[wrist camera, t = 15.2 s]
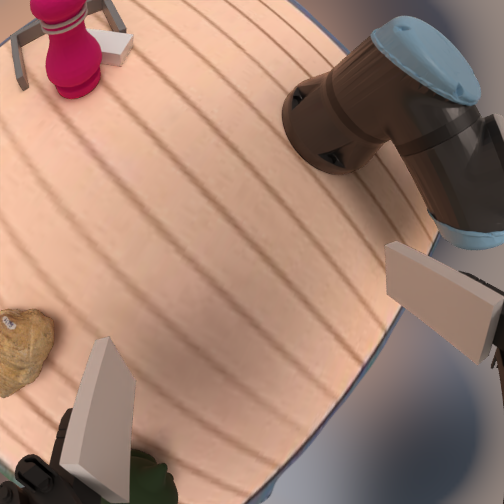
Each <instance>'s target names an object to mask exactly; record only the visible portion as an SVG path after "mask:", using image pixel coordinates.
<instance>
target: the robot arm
mask: <svg viewBox="0 0 504 504" xmlns="http://www.w3.org/2000/svg"><path fill="white" fill-rule="evenodd" d="M480 97H481V89H480V86H479V83H478V80H477V79H476V78H475V76H474V72H473V70H472V69H471V67H470V65H469V64H468V63H467V61H466V60H465V58H464V57H463V56H462V54H461V53H460V52H459V51H458V50H457V49H456V47H455V46H454V45H453V44H452V43H451V42H450V41H449V40H448V39H447V38H446V37H444V36H443V35H442V34H441V33H440V32H439V31H437V30H436V29H435V28H433V27H432V26H430V25H429V24H427V23H425V22H424V21H422V20H419V19H417V18H414V17H410V16H399V17H396V18H394V19H392V20H391V21H389V22H388V23H387V24H385V25H384V26H382V27H381V28H378V29H375V30H374V31H373V32H372V33H371V35H370V36H369V37H368V38H367V39H366V40H365V41H363V42H362V43H361V44H360V45H359V46H358V47H356V48H355V49H354V50H353V51H352V52H351V53H350V54H349V55H347V56H346V57H345V58H344V59H343V60H342V61H341V62H340V63H339V64H338V65H337V66H335V67H334V68H333V69H332V70H331V71H330V72H327V73H324V74H321V75H318V76H316V77H313V78H310V79H307V80H305V81H303V82H301V83H300V84H298V85H297V86H296V87H295V88H294V89H293V90H292V91H291V92H290V93H289V95H288V96H287V98H286V99H285V102H284V105H283V110H282V118H283V124H284V128H285V131H286V134H287V136H288V138H289V140H290V142H291V143H292V145H293V146H294V148H295V149H296V150H297V152H298V153H299V154H300V155H301V156H302V157H303V158H304V159H305V160H306V161H307V162H309V163H310V164H311V165H313V166H314V167H316V168H318V169H320V170H322V171H324V172H327V173H331V174H338V175H341V174H347V173H350V172H353V171H355V170H357V169H359V168H361V167H363V166H364V165H365V164H367V163H368V162H369V160H370V159H371V158H372V157H373V156H374V154H375V153H376V152H377V151H378V150H379V149H380V147H381V146H382V145H383V144H384V143H385V142H387V141H389V140H392V142H393V144H394V145H395V147H396V149H397V150H398V152H399V154H400V156H401V157H402V159H403V161H404V163H405V164H406V166H407V168H408V170H409V172H410V174H411V175H412V177H413V179H414V181H415V183H416V185H417V187H418V189H419V191H420V193H421V195H422V197H423V200H424V202H425V204H426V206H427V210H428V213H429V215H430V217H431V218H432V219H433V220H434V222H435V224H436V226H437V228H438V230H439V232H440V234H441V235H442V236H443V238H445V240H446V241H448V242H450V243H451V244H452V245H454V246H456V247H458V248H462V249H466V250H485V249H489V248H493V247H496V246H499V245H501V244H503V243H504V117H503V116H501V115H499V114H497V113H495V114H492V115H490V116H487V117H485V118H482V116H481V115H480V113H479V111H478V109H477V107H476V106H475V104H477V102H478V100H479V99H480ZM385 262H386V289H387V295H388V296H390V297H391V298H392V299H394V300H395V301H396V302H398V303H399V304H400V305H402V306H403V307H404V308H406V309H407V310H408V311H410V312H411V313H412V314H414V315H415V316H416V317H417V318H419V319H420V320H421V321H423V322H424V323H425V324H427V325H428V326H429V327H431V328H432V329H433V330H434V331H436V332H437V333H438V334H439V335H441V336H442V337H443V338H445V339H446V340H447V341H448V342H449V343H451V344H452V345H453V346H454V347H456V348H457V349H458V350H459V351H461V352H462V353H463V354H464V355H466V356H467V357H468V358H469V359H470V360H472V361H473V362H474V363H475V364H476V365H478V364H480V363H481V362H482V361H483V360H484V359H485V358H486V357H488V356H489V353H490V350H491V347H492V344H494V345H495V346H497V349H496V352H495V355H494V358H493V361H492V364H491V368H494V365H495V362H496V361H497V364H498V365H497V368H498V370H499V376H500V381H501V389H502V396H503V406H504V292H503V291H501V290H499V289H497V288H496V287H494V286H492V285H490V284H488V283H485V281H483V280H481V279H480V280H479V279H478V278H477V277H475V276H474V275H472V274H469V273H465V272H461V271H457V270H455V269H453V268H451V267H449V266H447V265H445V264H443V263H441V262H439V261H437V260H435V259H433V258H431V257H429V256H427V255H425V254H423V253H421V252H419V251H417V250H415V249H413V248H411V247H409V246H407V245H405V244H402V243H400V242H398V241H394V242H392V243H389V244H386V245H385ZM135 389H136V379H135V378H134V376H133V375H132V373H131V372H130V370H129V368H128V367H127V365H126V364H125V362H124V360H123V359H122V357H121V355H120V354H119V352H118V350H117V349H116V347H115V345H114V343H113V342H112V340H111V338H110V336H108V337H105V338H101V339H98V340H95V342H94V345H93V348H92V350H91V353H90V356H89V359H88V362H87V365H86V368H85V371H84V374H83V377H82V380H81V383H80V386H79V389H78V393H77V396H76V399H75V403H74V406H73V408H70V409H68V410H67V411H66V412H65V414H64V415H63V417H62V418H61V422H60V425H59V431H58V432H57V436H56V438H57V439H56V440H55V444H54V447H53V451H52V456H51V460H50V464H49V465H48V464H47V463H46V462H44V461H43V460H42V459H41V458H40V457H39V456H37V455H34V454H31V455H27V456H25V457H23V458H22V459H21V460H20V461H19V462H18V464H17V466H16V470H15V478H16V480H17V481H18V482H20V483H21V484H22V485H24V486H25V487H23V488H20V487H19V486H17V485H16V484H15V483H13V482H11V481H5V482H3V483H2V484H1V485H0V504H101V497H103V498H104V499H105V500H107V501H108V502H110V503H129V482H130V451H131V434H132V420H133V409H134V398H135ZM503 504H504V500H503Z"/></svg>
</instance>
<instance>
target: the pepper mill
mask: <svg viewBox="0 0 504 504" xmlns="http://www.w3.org/2000/svg"><path fill="white" fill-rule="evenodd" d="M30 8H31V11H32V14H33V15H34V16H35V17H36V18H37V19H40V25H41V29H42V31H43V32H44V33H46V34H48V35H49V40H50V43H49V49H48V53H47V57H46V72H47V76H48V78H49V80H50V81H51V82H52V83H53V84H55V86H56V88H57V91H58V92H59V94H60V95H61V96H63V97H65V98H69V99H74V98H79V97H82V96H84V95H86V94H88V93H89V92H91V91H92V90H93V89H94V88H95V87H96V85H97V84H98V82H99V80H100V76H101V72H100V63H101V60H102V51H101V47H100V45H99V43H98V41H97V40H96V39H95V38H94V37H93V36H92V35H91V34H90V33H89V32H88V31H87V30H86V27H85V23H84V19H85V17H86V15H87V12H88V9H87V2H86V0H31V1H30Z"/></svg>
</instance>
